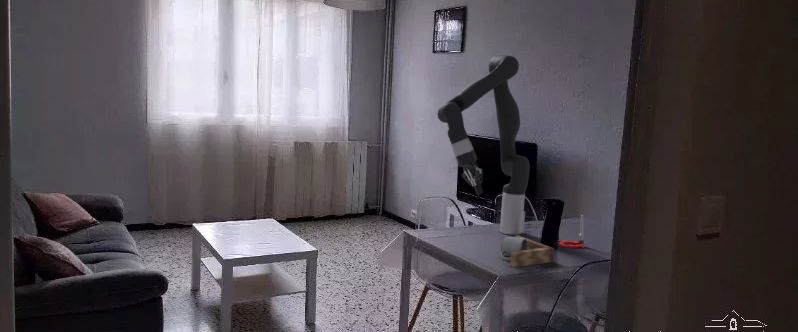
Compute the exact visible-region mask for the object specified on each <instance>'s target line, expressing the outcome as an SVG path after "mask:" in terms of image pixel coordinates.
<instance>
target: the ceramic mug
mask: <svg viewBox="0 0 798 332" xmlns="http://www.w3.org/2000/svg"><path fill="white" fill-rule="evenodd" d="M527 239H528V238H527ZM527 239H526V237H524V238H518V237H514V236H505V237H504V238H502V241H501V243H500V252H501V253H500V257H501V260H502V261H505V260H506V262H511V252H515V251H523V250H528V242H527Z"/></svg>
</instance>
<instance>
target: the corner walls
mask: <svg viewBox="0 0 798 332" xmlns="http://www.w3.org/2000/svg"><path fill="white" fill-rule="evenodd" d="M513 237H518V238H526V237H523V236H521V235H513ZM526 239H527V242H528V250H523V251H515V252H511V261H510V267H512V268H514V267H515V268H520V267H526V266H534V265H541V264H548V263H553V262H554V254H555V248H554V247H551V246H548V245H547V244H546V245H545V244H543V243H540V242H538V241H534V240H532V239H529V238H526Z"/></svg>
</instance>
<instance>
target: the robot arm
mask: <svg viewBox="0 0 798 332" xmlns="http://www.w3.org/2000/svg"><path fill="white" fill-rule="evenodd" d="M519 68H520V64H519V61H518V59H517V58H516V57H515V56H513V55H509V54H508V55H505V54H504V55H501V54H500V55H494V56H493V57H492V58H491V59H490V60H489V63H488V73H487V74H486V75H485V76H483V77H481V78H479V79H477V80H475V81H473V82H471V83H469V84H468V85H467V86H465V87H464V88H463V89H462V90H460V91H459V92H458V93H457V94H456V95H455V96H454V97H453V98H451V99H450V100H448V101H447V102H445V103H444V104H443V105H441V106H440V107H439V108H438V110H437V118H438V120H439V121H440V122H441V123H444V124H447V127H448V129H447V136H448V139H449V142H450V144H451V148H452V152H453V154H454V157H455V159H456V162H457V165H458V166H459V167H462V171H463V173H462V174H461V177H462V178H463V179H464V180H465V181H466V183H467V184H468V185H469V186H472V187H473V188H474V190H475V193H476V195H477V196H478V195H482V194H483V193H484V191H483V188H482V185H481V184H482V182H483V181H484V180H483V179H484V169H483V168H479V166H478V164H477V162H476V161H478V157H477V155H476V152H475V149H474V147H473V145H472V143H471V141H470V139H469V136H468V133H467V131H466V129H465V123H464V118H463V113H462V112H464V111H465V110H468V109H469V108H471V107H472V106H473V105H474V104H475V103H476V102H477V101H479V100H480V99H481V98H483V97H484V96H485V95H487V94H488V93H490V92H491V91H492V90H493V96H494V97H493V98H494V103H495V108H496V109H495V111H496V119H497V128H498V133H499V145H500V167H501V170H502V172H503V174H504V175H506V176H509V177H510V182H509V183H507V184H505V185H503V187H502V199H501V210H500V223H499V224H500V225H499V232H500V233H502V234H505V235H510V236H511V235H513V236H520V235H521V234H523V233H524V229H525V218H526V217H525V216H526V211H525V210H524V207H525V197H526V190H527V188H528V183H529V178H530V172H531V171H530V170H531V169H530V168H531V167H530V166H531V165H530V161H529V159H528V158H527V157H526V156H523V155H518V154H517V152H516V139H517V135H518V134H519V130H520V127H521V117H520V109H519V106H518V104H517V102H516V99H515V98H514V96H513V94H512V92H511V91H510V88H509V81H508V80H510V79H511V78H514V77H515V76H516V75H517V74H518V72H519Z"/></svg>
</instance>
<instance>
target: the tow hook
mask: <svg viewBox="0 0 798 332" xmlns="http://www.w3.org/2000/svg"><path fill="white" fill-rule="evenodd" d="M580 217H581V218H580V224H579V227H580V228H579V234H578V236H579V237H578V241H574V240H562V241H560V242H559V246H560V247H562V248H563V247H564V248H566V249H567V248H570V249H579V248H581V249H584V248H585V247H586V246H585V244H584V222H585V220H584V214H581V216H580Z"/></svg>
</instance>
